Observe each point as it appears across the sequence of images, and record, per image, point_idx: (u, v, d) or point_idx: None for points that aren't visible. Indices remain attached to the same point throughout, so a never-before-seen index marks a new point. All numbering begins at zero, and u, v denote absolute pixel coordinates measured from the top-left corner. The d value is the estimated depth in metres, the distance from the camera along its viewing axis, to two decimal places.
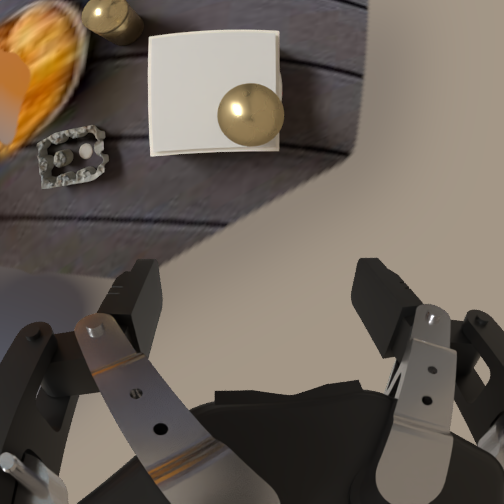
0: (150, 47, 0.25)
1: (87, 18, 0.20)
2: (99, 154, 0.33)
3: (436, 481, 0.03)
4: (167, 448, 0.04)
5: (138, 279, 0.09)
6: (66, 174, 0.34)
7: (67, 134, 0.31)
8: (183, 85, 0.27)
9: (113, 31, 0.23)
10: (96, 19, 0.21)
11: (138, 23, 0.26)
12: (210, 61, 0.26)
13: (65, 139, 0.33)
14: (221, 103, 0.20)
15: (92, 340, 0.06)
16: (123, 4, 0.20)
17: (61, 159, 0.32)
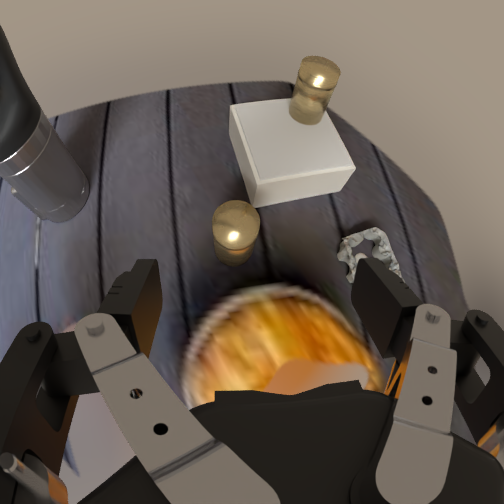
0: (268, 181, 0.36)
1: (246, 234, 0.31)
2: (363, 233, 0.40)
3: (436, 481, 0.03)
4: (166, 448, 0.04)
5: (138, 279, 0.09)
6: None
7: (355, 269, 0.38)
8: (296, 148, 0.37)
9: None
10: (248, 223, 0.31)
11: None
12: (272, 135, 0.38)
13: None
14: (321, 77, 0.30)
15: (92, 340, 0.06)
16: (229, 201, 0.32)
17: None
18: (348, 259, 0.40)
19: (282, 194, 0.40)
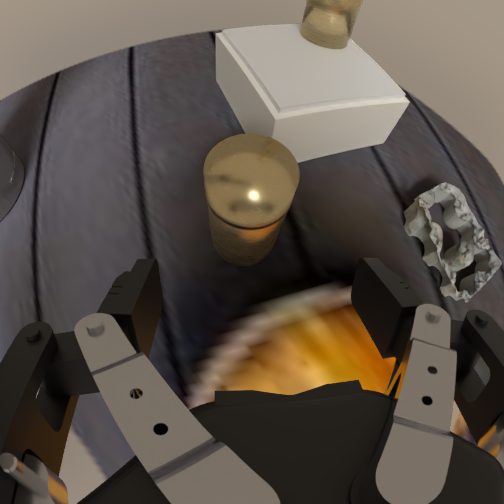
0: (292, 114, 0.20)
1: (276, 191, 0.15)
2: (434, 192, 0.24)
3: (436, 481, 0.03)
4: (167, 448, 0.04)
5: (138, 279, 0.09)
6: (471, 238, 0.23)
7: (440, 244, 0.22)
8: (325, 72, 0.21)
9: None
10: (276, 170, 0.15)
11: None
12: (284, 57, 0.22)
13: (440, 263, 0.23)
14: None
15: (92, 340, 0.06)
16: (232, 137, 0.16)
17: (465, 247, 0.22)
18: (423, 231, 0.24)
19: (310, 143, 0.24)
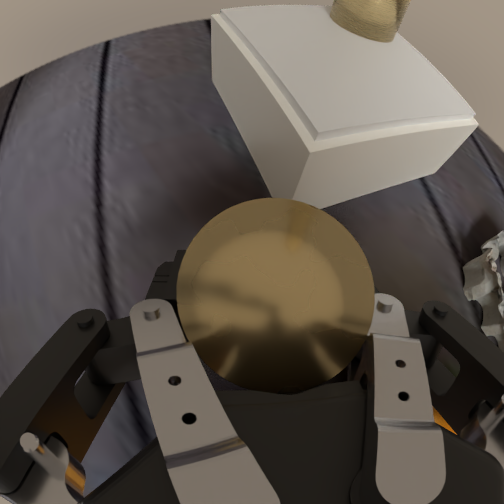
0: (336, 142, 0.12)
1: (331, 343, 0.07)
2: (498, 241, 0.16)
3: (436, 481, 0.03)
4: (188, 437, 0.04)
5: None
6: None
7: None
8: (376, 74, 0.13)
9: None
10: (330, 291, 0.07)
11: None
12: (314, 48, 0.14)
13: None
14: None
15: (151, 324, 0.07)
16: (237, 206, 0.08)
17: None
18: (486, 296, 0.16)
19: (352, 181, 0.16)
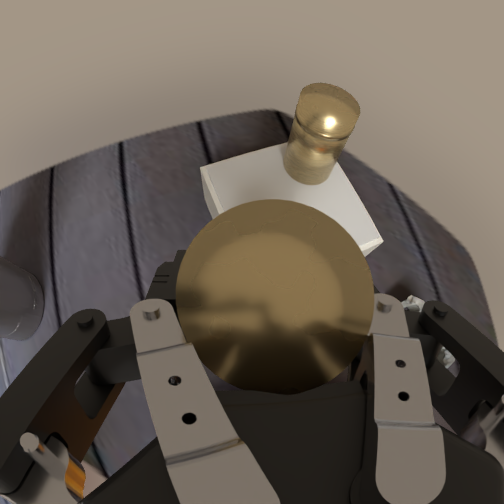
0: None
1: (331, 345, 0.07)
2: None
3: (436, 481, 0.03)
4: (189, 437, 0.04)
5: None
6: None
7: None
8: None
9: None
10: (330, 293, 0.07)
11: None
12: None
13: None
14: (335, 122, 0.20)
15: (151, 323, 0.07)
16: (237, 208, 0.08)
17: None
18: None
19: None
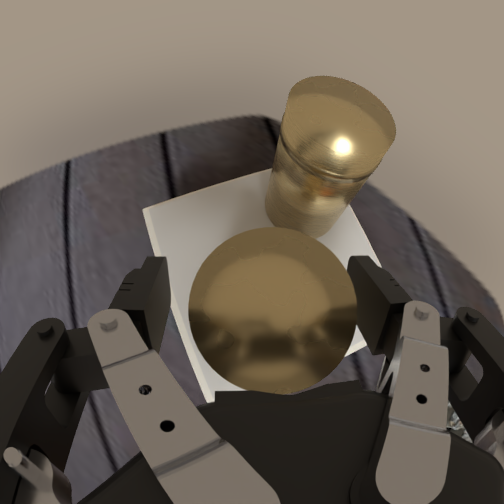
0: None
1: (318, 352, 0.08)
2: None
3: (436, 481, 0.03)
4: (171, 445, 0.04)
5: (149, 276, 0.09)
6: (448, 421, 0.20)
7: None
8: None
9: None
10: (318, 309, 0.09)
11: None
12: None
13: None
14: (354, 151, 0.11)
15: (106, 335, 0.07)
16: (239, 235, 0.09)
17: None
18: None
19: None
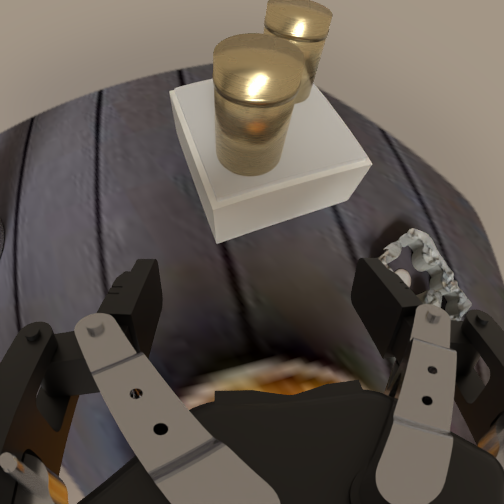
0: (231, 201, 0.21)
1: (283, 67, 0.13)
2: (400, 242, 0.26)
3: (436, 481, 0.03)
4: (166, 448, 0.04)
5: (138, 279, 0.09)
6: (440, 282, 0.25)
7: None
8: None
9: None
10: (282, 55, 0.14)
11: None
12: None
13: None
14: (303, 18, 0.16)
15: (92, 340, 0.06)
16: (240, 36, 0.14)
17: (432, 296, 0.24)
18: None
19: (259, 217, 0.25)
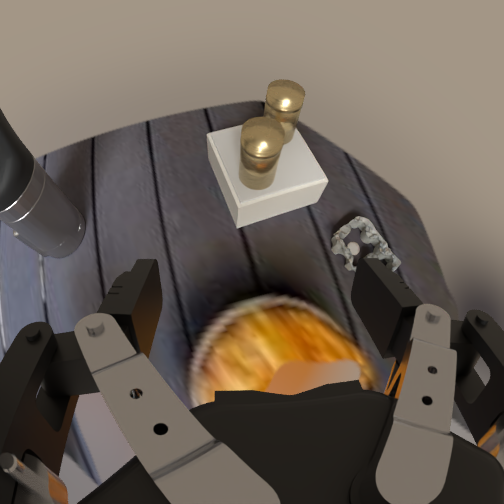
0: (248, 203, 0.40)
1: (274, 140, 0.32)
2: (349, 225, 0.45)
3: (436, 481, 0.03)
4: (166, 448, 0.04)
5: (138, 279, 0.09)
6: (378, 249, 0.44)
7: (351, 258, 0.42)
8: None
9: None
10: (274, 132, 0.32)
11: None
12: None
13: None
14: (287, 101, 0.34)
15: (92, 340, 0.06)
16: (253, 118, 0.33)
17: (371, 256, 0.43)
18: (342, 251, 0.45)
19: (262, 212, 0.44)
